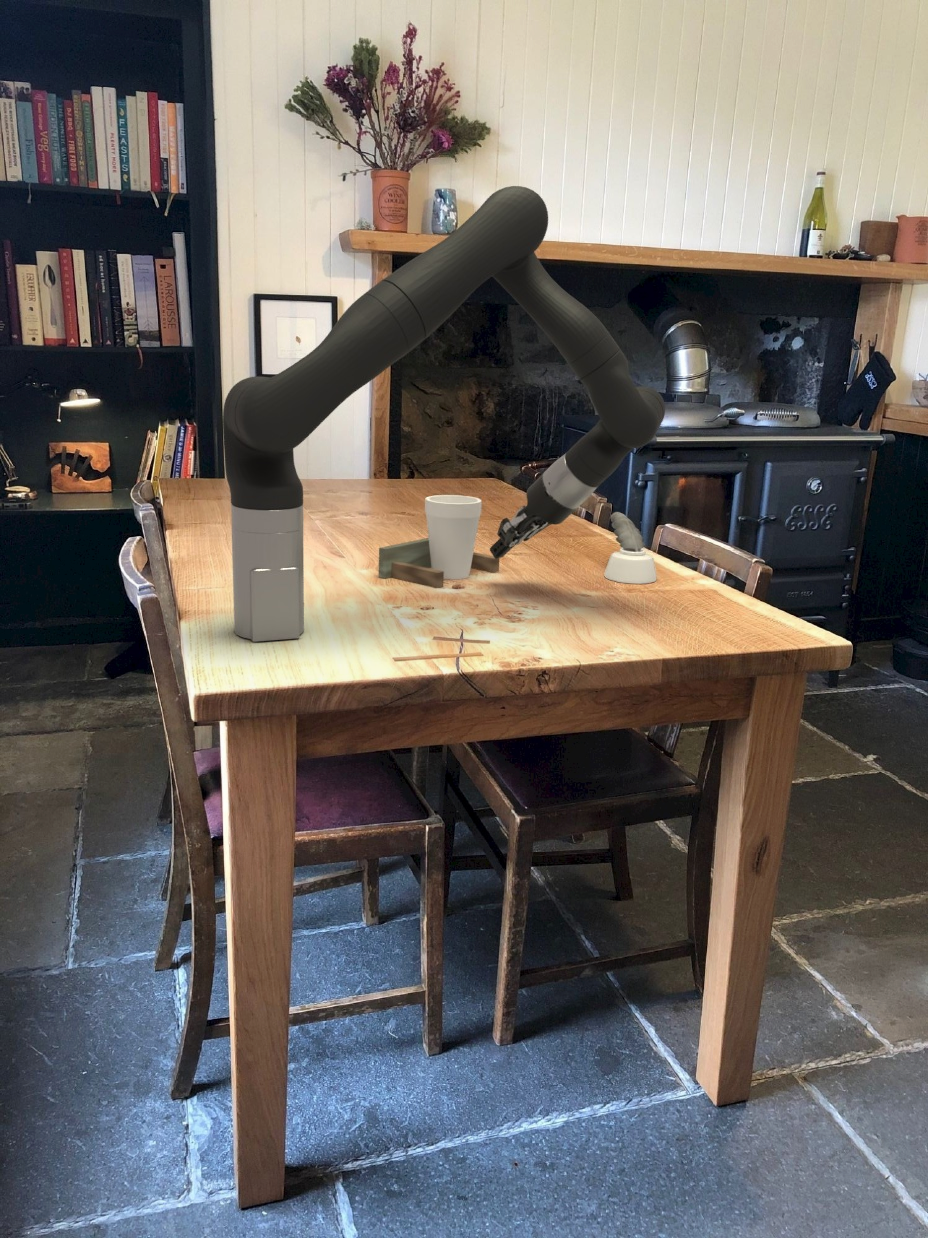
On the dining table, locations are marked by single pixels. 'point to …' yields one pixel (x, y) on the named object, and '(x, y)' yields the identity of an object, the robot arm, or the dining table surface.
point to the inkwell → (629, 555)
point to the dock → (422, 563)
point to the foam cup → (452, 533)
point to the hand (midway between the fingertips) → (494, 553)
